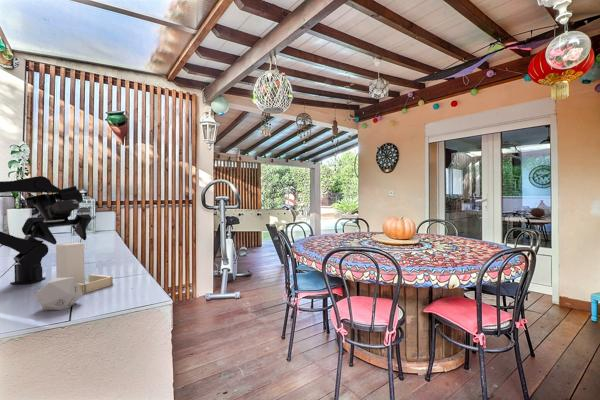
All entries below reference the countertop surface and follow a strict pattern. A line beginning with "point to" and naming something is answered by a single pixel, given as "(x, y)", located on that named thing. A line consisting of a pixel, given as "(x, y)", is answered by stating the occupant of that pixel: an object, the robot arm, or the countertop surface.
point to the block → (70, 261)
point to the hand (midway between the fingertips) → (71, 241)
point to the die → (59, 294)
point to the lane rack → (95, 283)
